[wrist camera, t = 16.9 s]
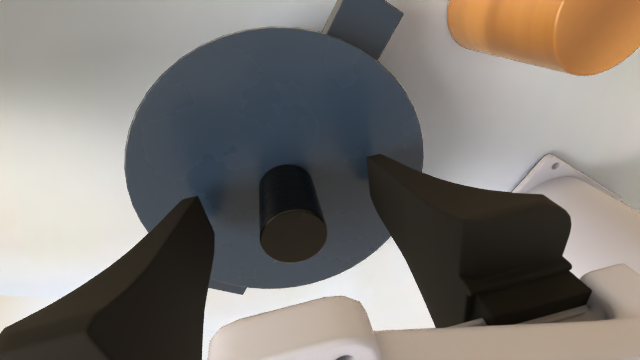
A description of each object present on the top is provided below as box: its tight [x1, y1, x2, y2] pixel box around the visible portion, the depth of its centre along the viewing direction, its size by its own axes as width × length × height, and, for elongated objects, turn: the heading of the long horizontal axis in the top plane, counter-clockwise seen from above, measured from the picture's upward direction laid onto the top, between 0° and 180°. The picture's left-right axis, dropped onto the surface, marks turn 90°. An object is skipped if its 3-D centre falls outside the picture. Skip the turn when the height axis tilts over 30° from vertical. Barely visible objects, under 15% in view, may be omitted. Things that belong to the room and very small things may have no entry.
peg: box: [447, 0, 640, 76], centre depth 13 cm, size 4×4×7 cm
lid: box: [125, 26, 423, 289], centre depth 13 cm, size 13×13×4 cm
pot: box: [208, 0, 403, 295], centre depth 16 cm, size 11×17×4 cm
